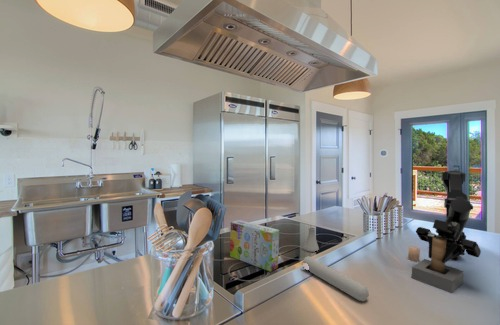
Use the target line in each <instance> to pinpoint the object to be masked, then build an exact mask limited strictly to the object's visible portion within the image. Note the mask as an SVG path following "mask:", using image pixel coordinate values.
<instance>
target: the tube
mask: <svg viewBox="0 0 500 325" xmlns="http://www.w3.org/2000/svg"><path fill="white" fill-rule="evenodd" d="M303 263H307V264H308V266H309V271H310V273H311V274H313V275H314V276H316V277H318V278H320V279H321V280H323V281H325V282H326V283H328V284H330V285H332V286H334V287H335V288H337V289H338V290H341V291H342V292H344V293H346V294H347V295H349V296H350V297H352V298H354V299H355V300H357V301H358V302H365V301H366V300H367V299H368V298H369V296H370V293H369V290H368V287H367V286H365V284H363V283H360V282H358V281H356V280H354V279H352V278H351V277H349V276H346V275H345V274H343V273H341V272H339V271H337V270H335V269H333V268H331V267H329V266H327V265H326V264H324V263H323V262H320V261H318V260H317V259H314V258H313V257H311V256H310V255H309V256H308V255H307V256H305V257H304V259H303V261H302V264H303ZM309 271H308V272H309Z"/></svg>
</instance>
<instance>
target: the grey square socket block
mask: <svg viewBox="0 0 500 325" xmlns="http://www.w3.org/2000/svg"><path fill="white" fill-rule="evenodd" d="M464 272H465V271H464V270H461V269H459V268H455V267H452V266H450V265H449V266H448V265H447V264H445V270H444V274H441V273H438V272H435V271H432V270H431V260H429V259H426V258H424V259H422V260H421V261H419V262H418V263H416V264H415V265H412V268H411V278H412V279H415V280H416V281H419V282H421V283H425V284H427V285H429V286H433V287H436V288H438V289H441V290H443V291H446V292H448V293H454V292H455V290H457V288H459V287H460V286H461V284H462V283H463V282H464Z"/></svg>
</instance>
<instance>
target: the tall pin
mask: <svg viewBox="0 0 500 325" xmlns="http://www.w3.org/2000/svg"><path fill="white" fill-rule="evenodd" d="M446 241H447V240H446V239H443V238H439V237H433V240H432V255H431V258H430V259H431V260H430V261H431V270H432V271H435V272H438V273H441V274H444V270H445V265H446V263H443V262H442V260H443V258H444V256H445V254H446Z"/></svg>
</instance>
